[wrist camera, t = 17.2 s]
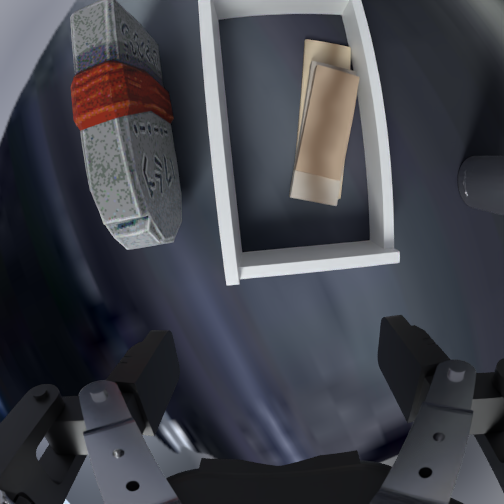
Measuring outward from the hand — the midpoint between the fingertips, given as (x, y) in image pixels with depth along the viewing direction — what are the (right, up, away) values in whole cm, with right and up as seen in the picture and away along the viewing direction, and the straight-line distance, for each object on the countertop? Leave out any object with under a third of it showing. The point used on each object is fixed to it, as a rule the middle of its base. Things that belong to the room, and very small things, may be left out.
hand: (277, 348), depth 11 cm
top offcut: (+9, +21, +28) cm, 36 cm away
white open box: (+5, +22, +31) cm, 38 cm away
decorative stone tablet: (-15, +21, +32) cm, 41 cm away
